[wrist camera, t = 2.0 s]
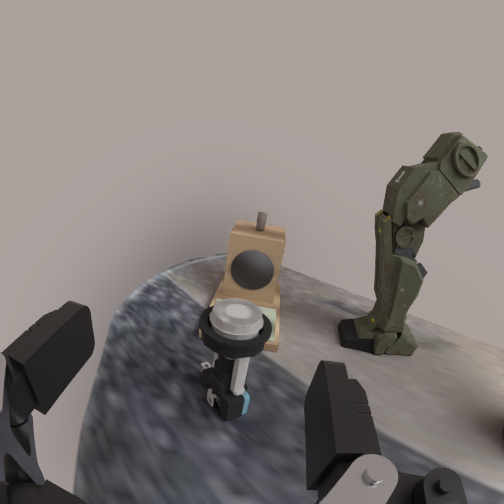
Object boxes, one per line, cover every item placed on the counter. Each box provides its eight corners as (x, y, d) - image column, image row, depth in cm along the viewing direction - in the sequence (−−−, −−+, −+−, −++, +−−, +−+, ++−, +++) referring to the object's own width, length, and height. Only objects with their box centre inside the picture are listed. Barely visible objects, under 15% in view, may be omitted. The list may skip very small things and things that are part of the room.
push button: (179, 379, 26) (181, 289, 22) (227, 366, 29) (240, 281, 25) (212, 430, 21) (223, 341, 17) (264, 410, 24) (290, 322, 20)
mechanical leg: (316, 342, 33) (438, 105, 23) (314, 311, 40) (414, 112, 29) (402, 372, 33) (518, 173, 23) (390, 342, 40) (488, 167, 29)
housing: (223, 278, 47) (233, 202, 43) (279, 288, 47) (294, 213, 43) (198, 337, 32) (208, 233, 28) (276, 352, 32) (301, 250, 28)
